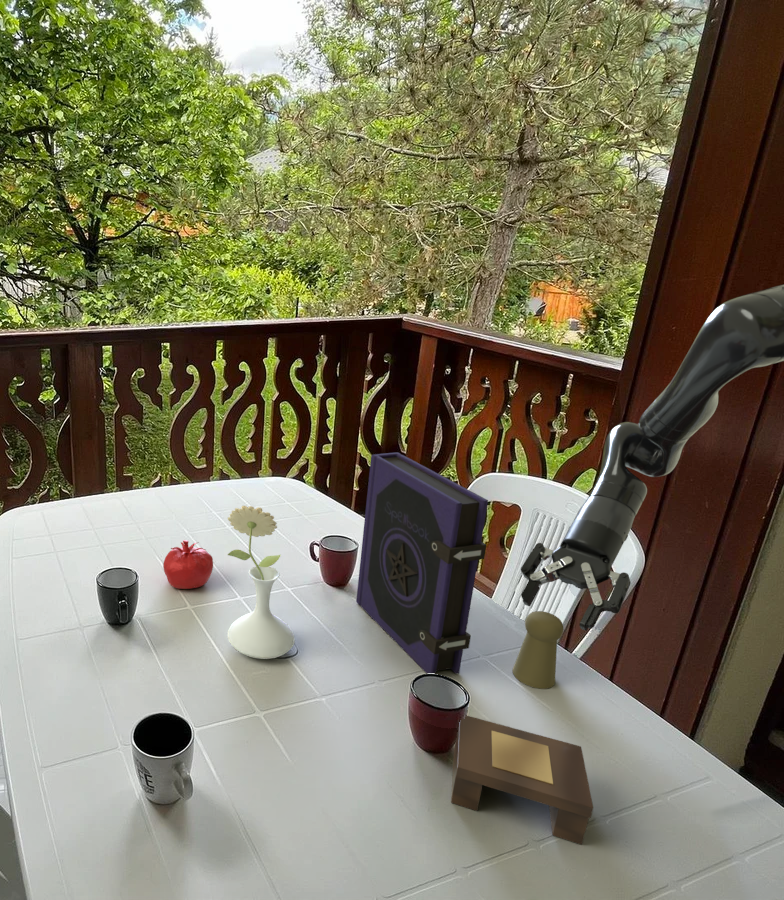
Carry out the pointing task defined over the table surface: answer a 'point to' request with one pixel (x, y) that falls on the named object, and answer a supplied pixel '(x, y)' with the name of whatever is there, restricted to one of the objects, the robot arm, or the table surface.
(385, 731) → the table surface
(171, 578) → the pomegranate
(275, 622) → the flower in vase
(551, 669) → the cork
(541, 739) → the shelf
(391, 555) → the book
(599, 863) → the table surface
